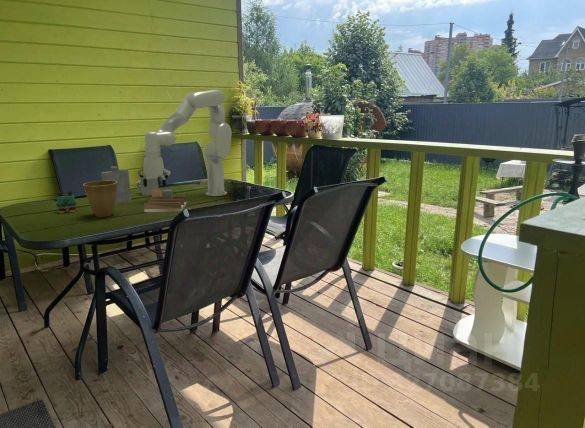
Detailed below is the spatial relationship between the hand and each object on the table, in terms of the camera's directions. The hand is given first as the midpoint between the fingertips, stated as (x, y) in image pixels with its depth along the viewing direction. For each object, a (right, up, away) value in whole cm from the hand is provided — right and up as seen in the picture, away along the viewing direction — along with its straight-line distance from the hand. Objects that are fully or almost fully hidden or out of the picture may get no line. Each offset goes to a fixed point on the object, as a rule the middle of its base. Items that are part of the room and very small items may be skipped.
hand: (154, 186), depth 237 cm
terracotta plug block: (+1, -9, +3) cm, 9 cm away
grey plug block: (+9, -9, -7) cm, 15 cm away
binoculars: (-39, -14, -16) cm, 45 cm away
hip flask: (-21, -9, +3) cm, 23 cm away
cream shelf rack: (+10, -12, -11) cm, 18 cm away
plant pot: (-17, -16, -26) cm, 34 cm away
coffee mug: (-13, -3, +28) cm, 31 cm away
